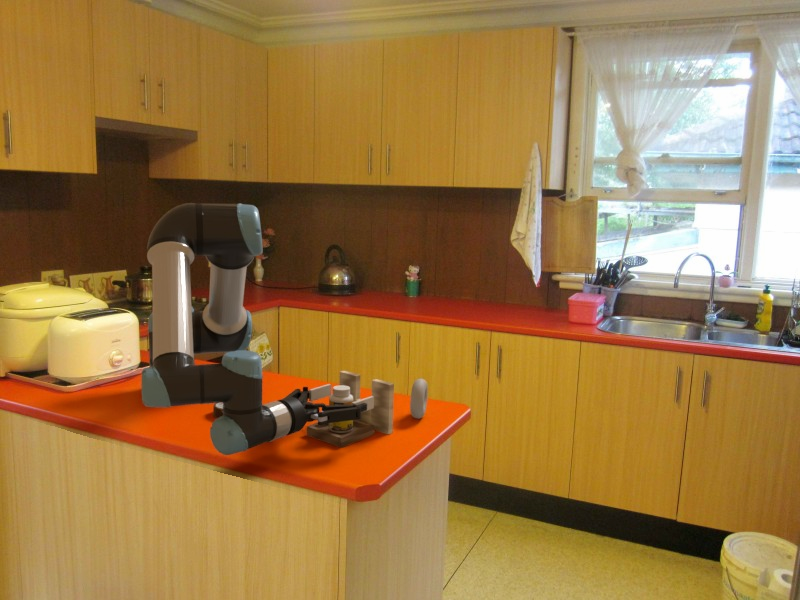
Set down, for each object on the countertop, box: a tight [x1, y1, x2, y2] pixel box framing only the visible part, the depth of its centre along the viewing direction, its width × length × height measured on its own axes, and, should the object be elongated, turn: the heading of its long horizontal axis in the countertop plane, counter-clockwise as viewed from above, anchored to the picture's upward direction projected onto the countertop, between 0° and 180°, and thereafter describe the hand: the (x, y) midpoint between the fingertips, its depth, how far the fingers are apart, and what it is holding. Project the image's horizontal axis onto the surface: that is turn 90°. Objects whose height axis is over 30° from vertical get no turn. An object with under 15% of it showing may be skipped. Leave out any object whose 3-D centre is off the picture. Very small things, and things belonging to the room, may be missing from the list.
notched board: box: [338, 370, 395, 435], centre depth 157 cm, size 16×2×12 cm, turn 51°
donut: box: [409, 378, 429, 419], centre depth 164 cm, size 10×4×10 cm, turn 169°
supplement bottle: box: [328, 384, 353, 434], centre depth 151 cm, size 6×6×10 cm
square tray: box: [306, 420, 375, 448], centre depth 152 cm, size 11×11×2 cm
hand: (350, 395), depth 153 cm, fingers open, 13 cm apart
